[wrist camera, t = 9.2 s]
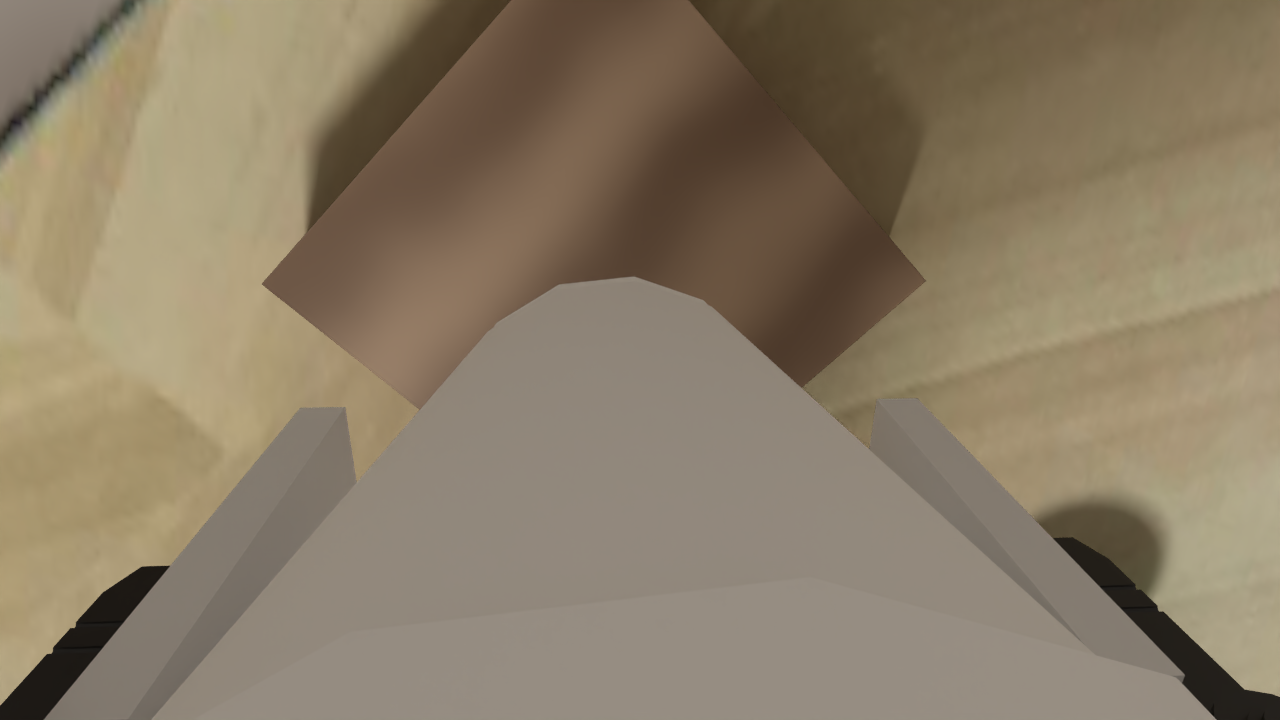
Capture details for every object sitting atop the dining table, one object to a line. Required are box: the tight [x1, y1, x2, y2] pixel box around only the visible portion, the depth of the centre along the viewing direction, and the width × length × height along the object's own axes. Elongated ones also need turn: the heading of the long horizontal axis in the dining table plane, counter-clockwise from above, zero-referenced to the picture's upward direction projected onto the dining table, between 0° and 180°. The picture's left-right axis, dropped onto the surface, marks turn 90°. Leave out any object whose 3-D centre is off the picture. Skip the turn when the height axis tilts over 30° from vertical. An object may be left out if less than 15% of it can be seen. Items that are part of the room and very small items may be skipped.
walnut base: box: [262, 0, 926, 409], centre depth 27 cm, size 16×16×4 cm
